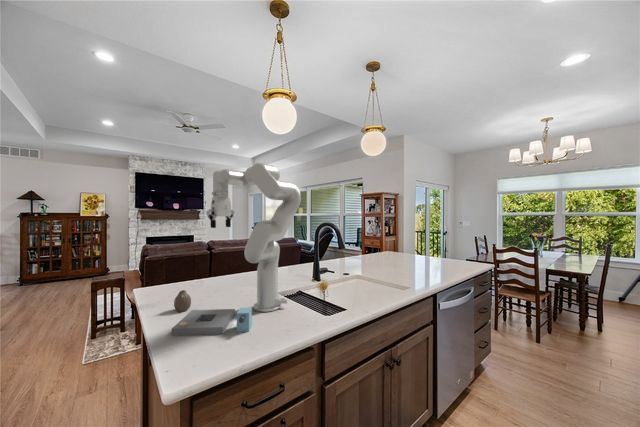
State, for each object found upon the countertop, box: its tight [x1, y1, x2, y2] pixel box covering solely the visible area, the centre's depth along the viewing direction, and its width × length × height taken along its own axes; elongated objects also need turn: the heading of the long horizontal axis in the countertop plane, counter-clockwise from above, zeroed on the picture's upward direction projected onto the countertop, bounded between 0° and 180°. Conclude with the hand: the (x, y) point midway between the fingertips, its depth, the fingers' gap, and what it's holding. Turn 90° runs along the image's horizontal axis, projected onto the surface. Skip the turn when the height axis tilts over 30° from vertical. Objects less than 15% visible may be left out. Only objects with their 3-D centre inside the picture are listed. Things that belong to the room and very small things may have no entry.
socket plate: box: [171, 308, 236, 336], centre depth 104 cm, size 18×18×3 cm
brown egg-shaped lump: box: [173, 289, 192, 313], centre depth 119 cm, size 7×7×9 cm
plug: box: [236, 307, 253, 333], centre depth 99 cm, size 4×8×7 cm, turn 4°
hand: (220, 227), depth 138 cm, fingers open, 9 cm apart
